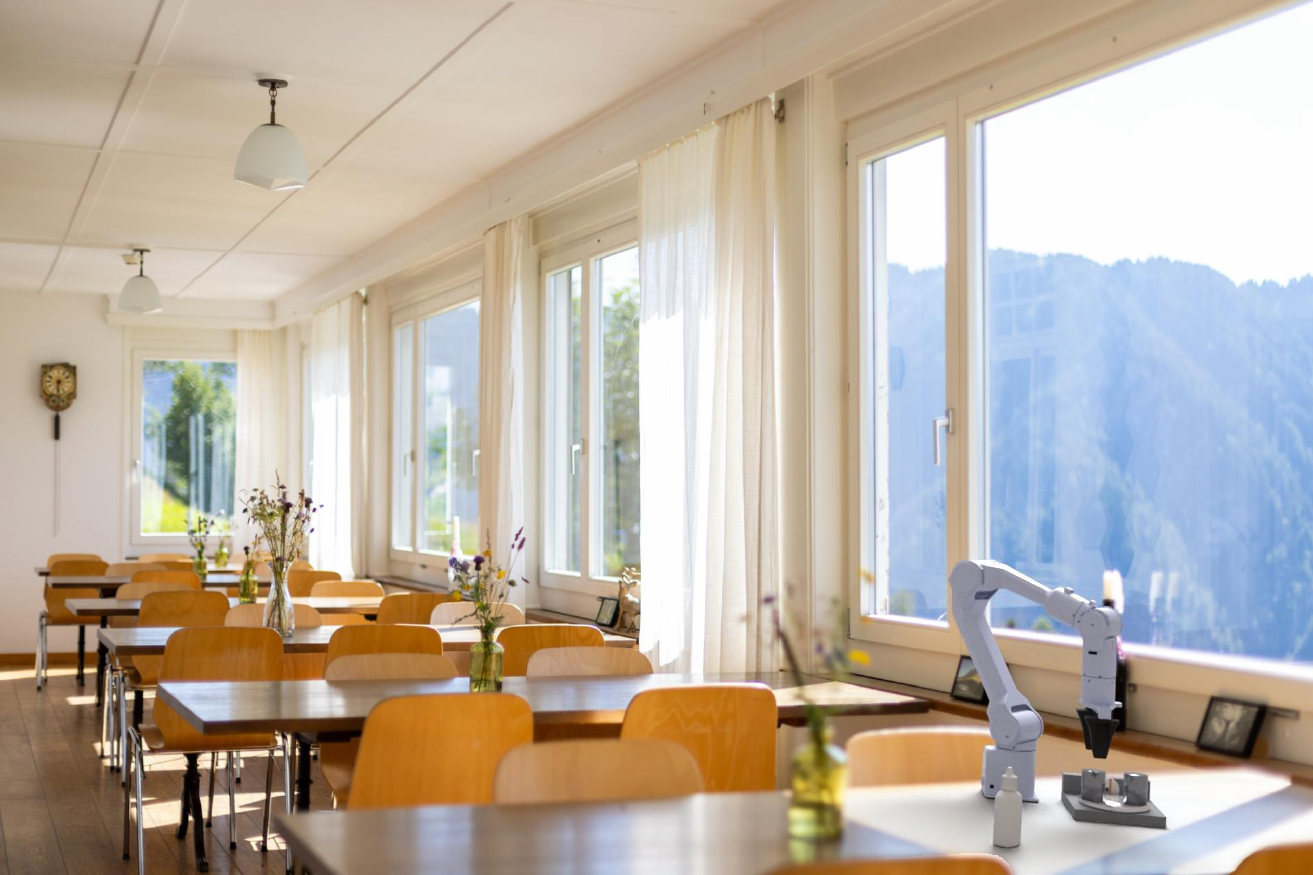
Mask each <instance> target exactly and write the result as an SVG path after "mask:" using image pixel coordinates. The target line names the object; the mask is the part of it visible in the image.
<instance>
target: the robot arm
mask: <svg viewBox="0 0 1313 875" xmlns="http://www.w3.org/2000/svg"><path fill="white" fill-rule="evenodd" d="M947 582H948V583H949V586H950V588H951V613H952V616H953V617H952V618H953V619H954V621H955V623H956V626H957V628H958V631H959V633H960V636H961V637H962V639H963V642H964V644H965V647H966V649H967V651H968V654H969V656H970V658H971V661H972V663H973V665H974V667H975V670H976V673H977V675H978V677H979V680H980V681H981V683H982V687H983V688H984V690H985V693H986V695H987V698H988V700H989V703H988V706H987V709H986V716H987V718H988V722H989V733H990V736H991V739H992V740H993V741H994V742H995V743H994V744H991V745H990V744H987V745H984V746H983V751H982V752H983V753H982V769H981V770H982V771H981V778H980V784H981V786H980V787H981V791H982V792H983V795H984V797H986V798H990V799H993V798H994V799H995V797H996V795H997V793H998V792H999V791H1000V790H1001V789H1002V788H1001V780H1002V775H1004V774H1006V772H1007V768H1008V767H1012V769H1013V774H1014V775H1015V776H1017V777H1018V779H1017V790H1016V791H1018V792H1019V793H1020V794H1021V795H1022V801H1026V802H1036V803H1037V802H1039V801H1040V800H1039V797H1038V795H1037V793H1036V792H1035V785H1036V783H1035V781H1036V763H1037V762H1036V760H1037V741H1038V740H1039V739H1040V738H1041V737H1042V735H1043V733H1044V727H1045V726H1044V721H1043V719H1042V717H1041V715H1040V714H1039V712H1037V711H1036V710H1035V709H1034V708H1033V707H1032V705H1031V703H1030V701H1029V699H1028V698H1027V697H1026V696H1024V695H1023V694H1022V693H1021V692H1019V690H1018V688H1017V686H1016V684H1015V682H1014V680H1013V678H1012V675H1011V673H1010V670H1009V668H1008V666H1007V664H1006V662H1005V660H1004V657H1003V655H1002V653H1001V651H1000V648H999V645H998V643H997V641H996V638H995V637H994V634H993V632H992V629H991V627H990V625H989V623H988V621H987V619H986V617H985V610H986V608H987V606H988V604H989V602H990V600H991V599H993V597H994V596H995V594H997V592H998V591H1000V589H1001V590H1006V591H1009V592H1012V593H1014V594H1016V595H1018V596H1020V597H1023V598H1025V599H1027V600H1029V601H1032V602H1034V603H1035V604H1039V605H1040V606H1042V607H1043V610H1044V613H1045V614H1046V616H1047V617H1049V618H1051V619H1053V620H1055V621H1056V622H1060V623H1061V624H1063V625H1065V626H1067V627H1069V628H1071V629H1073V630H1075V631H1077V632H1078V633H1079V635H1080V636H1081V638H1082V649H1081V650H1082V653H1081V654H1082V656H1081V679H1080V682H1081V683H1080V699H1078V702H1079V705H1080V706H1082V708H1079V707H1078V708H1075V711H1076V713H1077V715H1078V718H1079V720H1080V725H1081V729H1082V734H1083V742H1084V747H1085V750H1088V751H1091V753H1092V754H1091V755H1092V756H1093V758H1094V759H1099V760H1100V759H1102V760H1106V759H1107V758H1108V755H1109V751H1110V747H1111V743H1112V739H1113V736H1114V734H1115V731H1116V730H1117V728H1118V727H1119V726H1120V723H1121V722H1120V719H1114V718H1112V711H1113V710H1114V709H1116V708H1122V707H1123V703H1122V702H1120V701H1116V683H1117V682H1116V680H1117V679H1116V677H1117V653H1118V652H1117V648H1118V647H1117V646H1118V644H1117V643H1118V642H1117V640H1118V636H1120V634H1121V633H1122V631H1123V627H1124V623H1123V619H1122V616H1121V615H1120V613H1119V612H1117V610H1115V609H1114V608H1113V607H1111V606H1108V605H1107V606H1101V607H1099V606H1098V602H1097V601H1096V600H1094V599H1090V600H1088V599H1085V598H1084V597H1082V596H1080V595H1078V594H1076V593H1075V589H1073V588H1071V587H1070V586H1069V587H1067V586H1066V587H1064V588H1063V587H1060V586H1059V587H1057V588H1054V589H1051V588H1049V587H1047V586H1045V585H1043V584H1041V583H1040V582H1037V581H1036V580H1034V579H1033V578H1031V577H1029V576H1027V575H1025V574H1023V573H1021V572H1019V571H1017V570H1016V569H1014V568H1012V567H1010V566H1009V565H1007V564H1005V563H999V562H998V561H996V560H994V559H991V558H990V559H989V558H985V559H980V560H979V559H977V560H973V559H972V560H971V559H962V560H960V561H958V562H957V563H955V565H954V567H953V569H952V570H951V573H950V575H949V578H948V580H947ZM1083 707H1084V708H1083Z"/></svg>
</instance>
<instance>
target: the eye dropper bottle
mask: <svg viewBox="0 0 1313 875" xmlns="http://www.w3.org/2000/svg"><path fill="white" fill-rule="evenodd" d="M1017 779H1018V777H1017V776H1015V775H1014V774H1013V769H1012V767H1008V768H1007V772H1006V774H1004V775H1002V780H1001V788H1002V789H1001V790H1000V791H999V792H998V793H997V795H996V797H995V798H994V809H993V810H994V811H993V829H992V830H993V833H992V844H993V845H994V846H995V847H996V846H997V847H1000V848H1001V847H1002V848H1006V849H1007V848H1008V849H1009V848H1013V846H1014V847H1018V846H1019V845H1020V844H1021V842H1022V841H1021V840H1022V820H1023V819H1022V818H1023V817H1022V816H1023V800H1022V795H1021V794H1020V793H1019V792H1018V791H1016V790H1017Z"/></svg>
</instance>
